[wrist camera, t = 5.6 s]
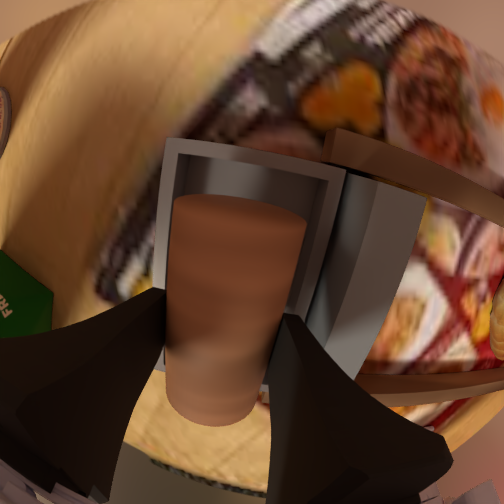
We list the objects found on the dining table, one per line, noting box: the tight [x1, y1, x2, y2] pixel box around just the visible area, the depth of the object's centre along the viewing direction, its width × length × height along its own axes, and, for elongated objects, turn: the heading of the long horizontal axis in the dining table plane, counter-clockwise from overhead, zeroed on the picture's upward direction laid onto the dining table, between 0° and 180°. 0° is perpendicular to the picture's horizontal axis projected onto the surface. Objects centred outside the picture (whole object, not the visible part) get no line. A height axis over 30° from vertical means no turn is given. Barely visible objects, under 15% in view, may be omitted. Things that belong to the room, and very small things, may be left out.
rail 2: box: [262, 367, 504, 407], centre depth 16 cm, size 2×26×2 cm, turn 80°
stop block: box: [304, 173, 427, 380], centre depth 12 cm, size 12×2×5 cm, turn 169°
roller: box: [165, 194, 307, 427], centre depth 10 cm, size 8×4×4 cm, turn 169°
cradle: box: [153, 137, 346, 392], centre depth 13 cm, size 12×7×2 cm, turn 169°
